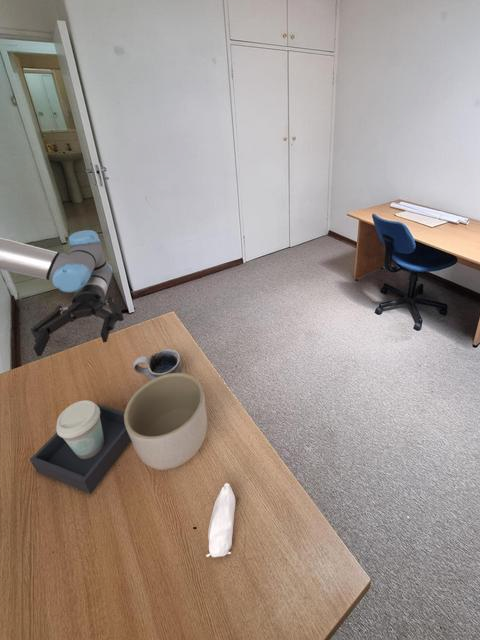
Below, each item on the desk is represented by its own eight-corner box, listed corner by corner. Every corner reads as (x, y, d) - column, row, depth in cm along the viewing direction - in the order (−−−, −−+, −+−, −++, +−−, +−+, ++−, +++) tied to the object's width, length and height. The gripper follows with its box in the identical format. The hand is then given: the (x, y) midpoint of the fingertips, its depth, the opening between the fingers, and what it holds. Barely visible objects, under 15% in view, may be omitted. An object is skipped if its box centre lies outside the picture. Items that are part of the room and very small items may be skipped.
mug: (186, 382, 97) (181, 358, 93) (141, 400, 92) (133, 375, 87) (180, 361, 105) (174, 337, 101) (137, 376, 99) (130, 352, 95)
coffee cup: (61, 460, 77) (44, 427, 71) (90, 426, 84) (76, 394, 79) (91, 469, 75) (76, 436, 70) (118, 434, 82) (106, 402, 77)
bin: (36, 472, 75) (29, 459, 73) (93, 412, 88) (88, 400, 86) (90, 494, 71) (84, 481, 69) (140, 428, 84) (136, 416, 82)
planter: (225, 435, 83) (218, 393, 76) (167, 498, 70) (154, 455, 64) (182, 401, 92) (173, 362, 85) (124, 452, 79) (108, 411, 72)
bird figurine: (211, 509, 70) (204, 563, 60) (214, 482, 68) (208, 533, 59) (234, 509, 70) (231, 562, 61) (238, 482, 69) (235, 533, 60)
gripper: (139, 297, 100) (132, 344, 82) (44, 314, 93) (13, 370, 75) (134, 276, 97) (125, 320, 79) (35, 292, 90) (0, 345, 72)
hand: (71, 344), depth 77 cm, fingers open, 13 cm apart
